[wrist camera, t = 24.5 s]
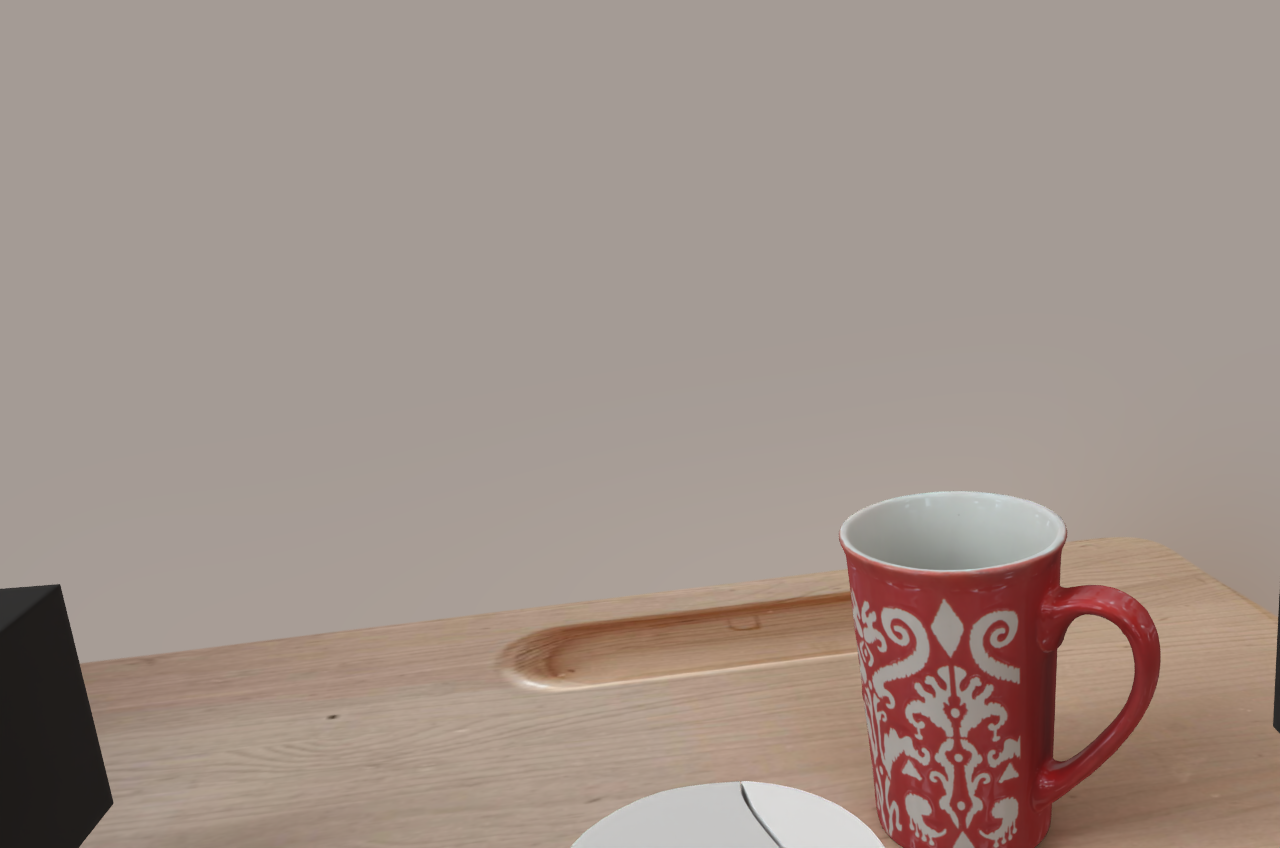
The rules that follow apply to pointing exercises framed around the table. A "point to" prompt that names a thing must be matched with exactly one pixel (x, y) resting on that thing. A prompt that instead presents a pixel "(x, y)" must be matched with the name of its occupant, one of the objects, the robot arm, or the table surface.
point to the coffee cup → (730, 820)
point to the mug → (974, 664)
